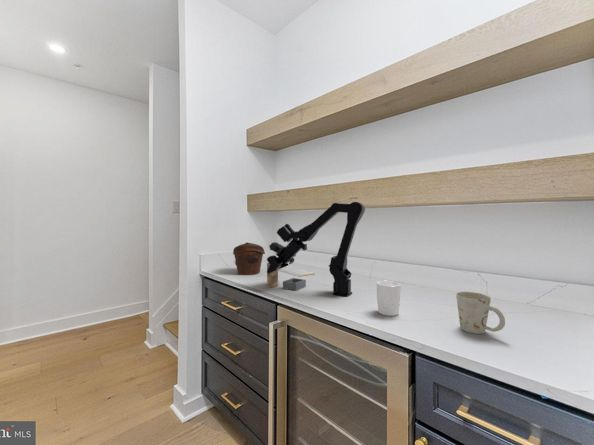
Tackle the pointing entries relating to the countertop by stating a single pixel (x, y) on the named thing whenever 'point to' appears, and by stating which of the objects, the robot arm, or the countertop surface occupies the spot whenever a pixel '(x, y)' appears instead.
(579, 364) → the countertop surface
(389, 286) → the white cup
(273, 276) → the slat
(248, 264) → the brown tapered cylinder
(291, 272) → the baseboard
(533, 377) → the countertop surface
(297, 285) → the end cap
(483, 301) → the mug
